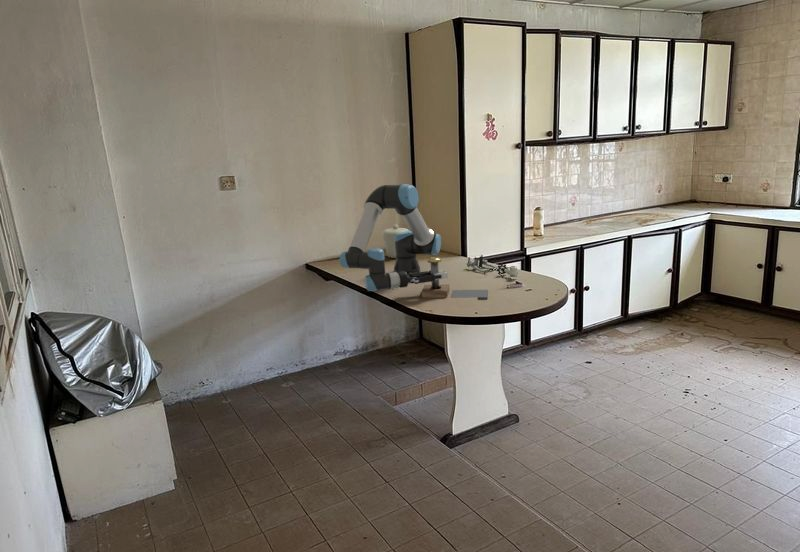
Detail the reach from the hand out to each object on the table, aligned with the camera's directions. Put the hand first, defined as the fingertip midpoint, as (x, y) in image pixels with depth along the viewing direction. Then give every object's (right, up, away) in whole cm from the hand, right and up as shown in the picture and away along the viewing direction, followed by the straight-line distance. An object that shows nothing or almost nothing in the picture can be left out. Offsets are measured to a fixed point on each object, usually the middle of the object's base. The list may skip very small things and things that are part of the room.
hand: (445, 274), depth 267 cm
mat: (+11, -10, -2) cm, 15 cm away
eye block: (-5, -10, +1) cm, 11 cm away
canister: (-24, +11, +95) cm, 99 cm away
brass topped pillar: (-5, -9, +1) cm, 10 cm away
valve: (+35, -2, +27) cm, 45 cm away
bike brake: (+25, +2, +46) cm, 53 cm away
